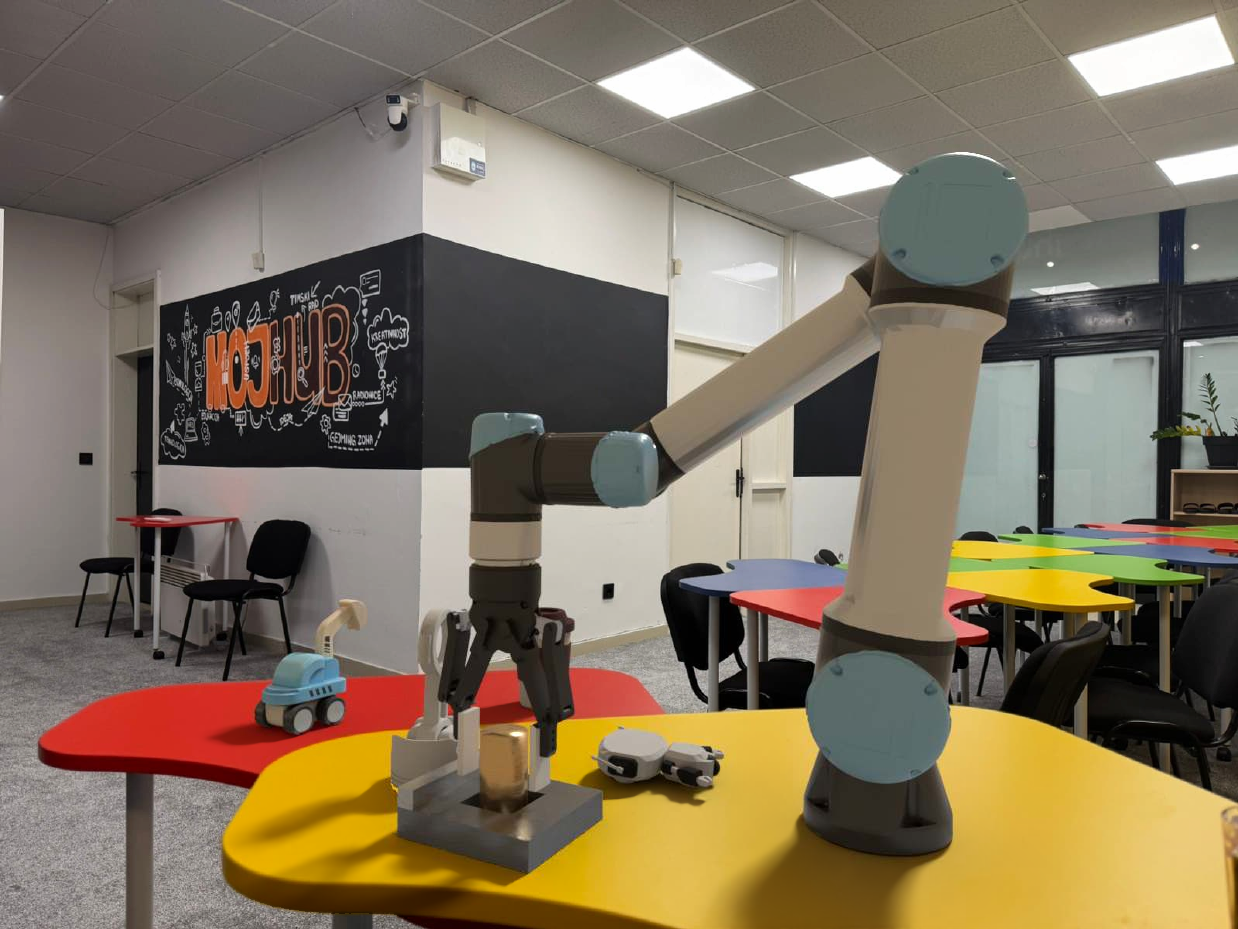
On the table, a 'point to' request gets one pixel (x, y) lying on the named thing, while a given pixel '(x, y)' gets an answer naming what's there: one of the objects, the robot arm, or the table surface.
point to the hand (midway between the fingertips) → (503, 778)
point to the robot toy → (656, 758)
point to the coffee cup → (552, 615)
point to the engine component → (427, 712)
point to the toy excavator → (310, 679)
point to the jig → (494, 818)
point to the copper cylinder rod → (503, 768)
